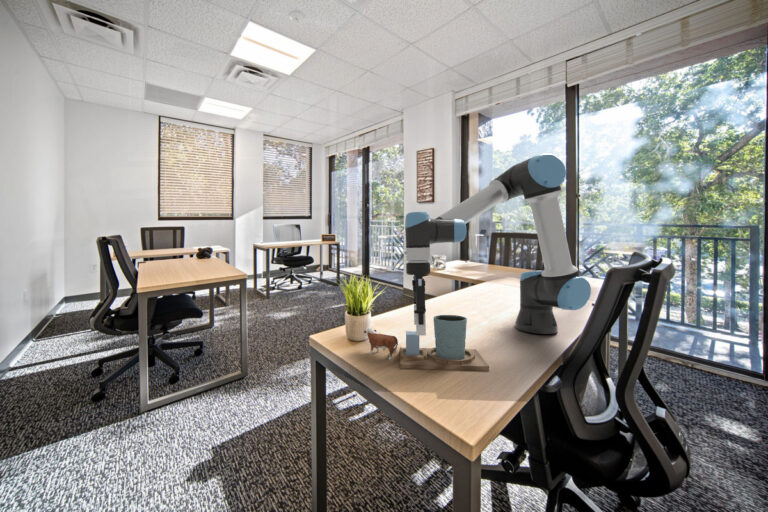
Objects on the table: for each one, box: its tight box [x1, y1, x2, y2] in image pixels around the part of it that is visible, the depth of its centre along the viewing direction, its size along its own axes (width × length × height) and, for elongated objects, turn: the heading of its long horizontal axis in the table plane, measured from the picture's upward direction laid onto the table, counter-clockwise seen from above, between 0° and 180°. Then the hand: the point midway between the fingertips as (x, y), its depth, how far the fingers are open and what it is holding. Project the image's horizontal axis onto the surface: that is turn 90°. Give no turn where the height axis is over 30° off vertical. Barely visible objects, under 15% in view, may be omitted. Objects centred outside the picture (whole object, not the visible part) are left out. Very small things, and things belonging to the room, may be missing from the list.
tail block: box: [405, 330, 420, 356], centre depth 98 cm, size 4×4×7 cm
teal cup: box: [433, 314, 468, 360], centre depth 98 cm, size 10×10×12 cm
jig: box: [399, 346, 490, 372], centre depth 98 cm, size 25×16×2 cm, turn 87°
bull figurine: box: [363, 327, 399, 361], centre depth 102 cm, size 4×13×8 cm, turn 51°
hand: (419, 329), depth 100 cm, fingers open, 13 cm apart
